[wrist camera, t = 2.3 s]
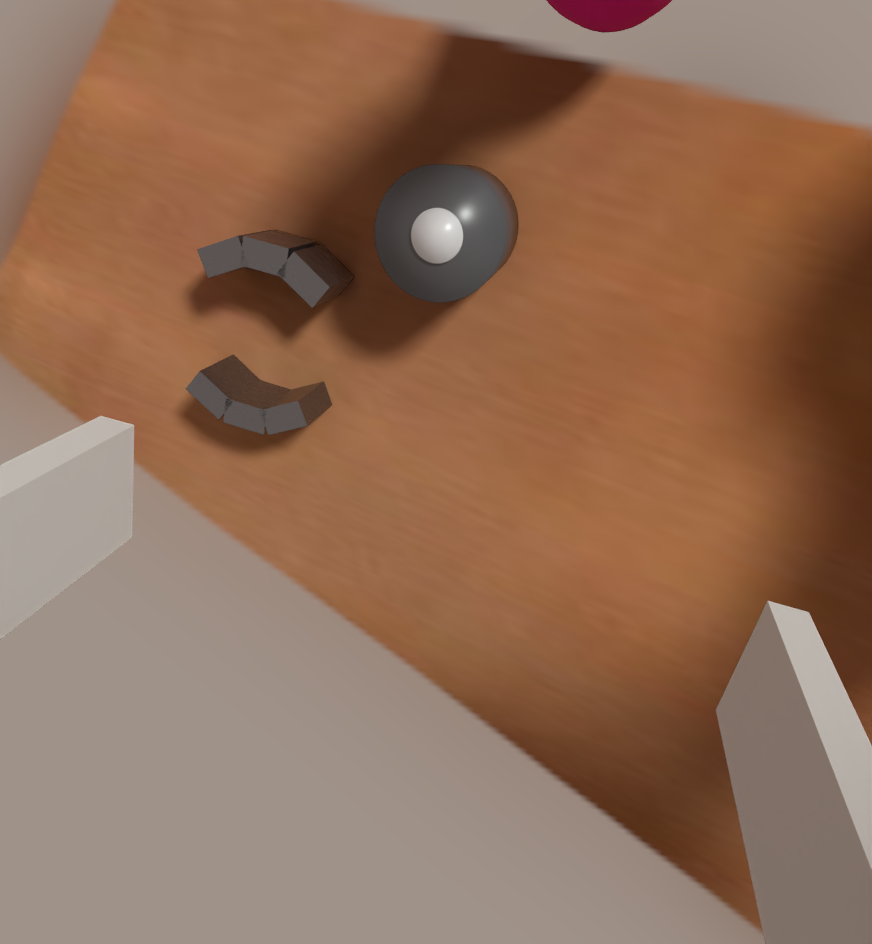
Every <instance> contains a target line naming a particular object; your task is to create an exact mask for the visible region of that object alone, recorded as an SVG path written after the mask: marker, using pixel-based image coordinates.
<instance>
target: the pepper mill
mask: <svg viewBox="0 0 872 944" xmlns="http://www.w3.org/2000/svg"><path fill="white" fill-rule="evenodd" d="M547 1H548V3H549V4H550V5H551V6H552V7H553V8H554V9H555V10H557V11H558V13H560V14H561V15H562V16H564V17H565V18H567V19H568V20H570V21H572V22H574V23H576V24H578V25H580V26H582V27H584V28H587V29H590V30H593V31H598V32H616V31H621V30H625V29H628V28H632V27H634V26H636V25H638V24H640V23H642V22H644V21H645V20H647V19H648V18H649V17H651V16H653V15H654V14H656V13H657V12H659V11H660V10H661V9H663V8H664V7H665V6H666V5H668V4H669V3H670V2H671V1H672V0H547Z"/></svg>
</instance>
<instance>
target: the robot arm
mask: <svg viewBox="0 0 872 944" xmlns="http://www.w3.org/2000/svg"><path fill="white" fill-rule="evenodd" d="M133 460H134V425H132V424H129V423H125V422H121V421H118V420H114V419H111V418H107V417H103V416H100V417H98V418H96V419H93V420H91V421H89V422H87V423H85V424H83V425H81V426H79V427H77V428H75V429H73V430H71V431H69V432H67V433H65V434H63V435H61V436H59V437H57V438H55V439H53V440H51V441H49V442H47V443H45V444H42V445H40V446H38V447H36V448H34V449H33V450H30V451H28V452H26V453H24V454H22V455H20V456H18V457H16V458H14V459H12V460H10V461H8V462H6V463H4V464H2V465H0V640H1V639H2V638H3V637H4V636H6V635H7V634H8V633H10V632H11V631H12V630H13V629H15V628H16V627H17V626H19V625H20V624H21V623H22V622H24V621H25V620H26V619H27V618H29V617H30V616H31V615H33V614H34V613H35V612H37V611H38V610H39V609H40V608H42V607H43V606H44V605H45V604H47V603H48V602H49V601H50V600H52V599H53V598H54V597H56V596H57V595H58V594H60V593H61V592H62V591H63V590H65V589H66V588H67V587H68V586H70V585H71V584H72V583H74V582H75V581H76V580H78V579H79V578H80V577H81V576H83V575H84V574H85V573H86V572H88V571H89V570H90V569H92V568H93V567H94V566H95V565H97V564H98V563H99V562H100V561H102V560H103V559H104V558H106V557H107V556H108V555H110V554H111V553H112V552H113V551H115V550H116V549H117V548H119V547H120V546H121V545H122V544H124V543H125V542H126V541H128V540H129V539H130V538H131V537H132V516H133V515H132V514H133V510H132V509H133ZM716 714H717V718H718V723H719V728H720V732H721V737H722V742H723V747H724V751H725V756H726V761H727V765H728V770H729V775H730V780H731V784H732V789H733V794H734V798H735V803H736V808H737V813H738V817H739V822H740V827H741V831H742V836H743V841H744V846H745V850H746V855H747V860H748V864H749V869H750V874H751V879H752V883H753V888H754V893H755V897H756V902H757V907H758V912H759V916H760V921H761V926H762V930H763V935H764V940H765V944H872V745H871V743H870V741H869V739H868V737H867V735H866V733H865V731H864V728H863V726H862V724H861V722H860V720H859V718H858V716H857V714H856V711H855V709H854V707H853V705H852V703H851V701H850V699H849V697H848V694H847V692H846V690H845V688H844V686H843V684H842V682H841V680H840V677H839V675H838V673H837V671H836V669H835V667H834V665H833V662H832V660H831V658H830V656H829V654H828V652H827V650H826V648H825V645H824V643H823V641H822V639H821V637H820V635H819V633H818V631H817V628H816V626H815V624H814V622H813V620H812V618H811V616H810V614H809V612H807V611H803V610H799V609H796V608H792V607H789V606H785V605H781V604H778V603H774V602H771V601H767V603H766V605H765V607H764V609H763V611H762V613H761V616H760V618H759V620H758V622H757V624H756V626H755V628H754V630H753V632H752V635H751V637H750V639H749V641H748V643H747V645H746V647H745V649H744V651H743V654H742V656H741V658H740V660H739V662H738V664H737V666H736V668H735V670H734V673H733V675H732V677H731V679H730V681H729V683H728V685H727V687H726V689H725V692H724V694H723V696H722V698H721V700H720V702H719V704H718V706H717V708H716Z"/></svg>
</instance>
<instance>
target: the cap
mask: <svg viewBox="0 0 872 944" xmlns="http://www.w3.org/2000/svg"><path fill="white" fill-rule="evenodd" d="M517 235H518V214H517V209H516V206H515V203H514V200H513V198H512V196H511V194H510V192H509V191H508V189H507V188H506V187H505V185H504V184H503V183H502V182H501V181H500V180H499V179H498V178H497V177H496V176H494V175H493V174H491V173H490V172H488V171H486V170H484V169H481V168H478V167H475V166H470V165H445V164H433V165H426V166H422V167H418V168H416V169H413V170H411V171H409V172H408V173H406V174H404V175H403V176H401V177H400V178H399V179H398V180H397V181H396V182H395V183H394V184H393V185H392V186H391V187H390V188H389V190H388V191H387V192H386V194H385V195H384V197H383V199H382V201H381V203H380V206H379V209H378V212H377V216H376V220H375V244H376V249H377V253H378V256H379V259H380V261H381V264H382V266H383V267H384V269H385V271H386V272H387V274H388V275H389V277H390V278H391V279H392V280H393V281H394V283H395V284H396V285H398V286H399V287H400V288H401V289H402V290H404V291H405V292H407V293H408V294H410V295H412V296H414V297H416V298H418V299H421V300H425V301H429V302H439V303H440V302H450V301H455V300H458V299H461V298H464V297H466V296H468V295H470V294H471V293H473V292H474V291H476V290H477V289H478V288H480V287H481V286H482V285H483V284H484V283H485V282H486V281H487V280H488V279H489V278H491V277H492V276H493V275H494V274H495V273H496V272H497V271H498V270H499V269H500V268H502V266H503V265H504V264H505V263H506V262H507V260H508V258H509V257H510V255H511V253H512V251H513V249H514V246H515V243H516V240H517Z"/></svg>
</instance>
